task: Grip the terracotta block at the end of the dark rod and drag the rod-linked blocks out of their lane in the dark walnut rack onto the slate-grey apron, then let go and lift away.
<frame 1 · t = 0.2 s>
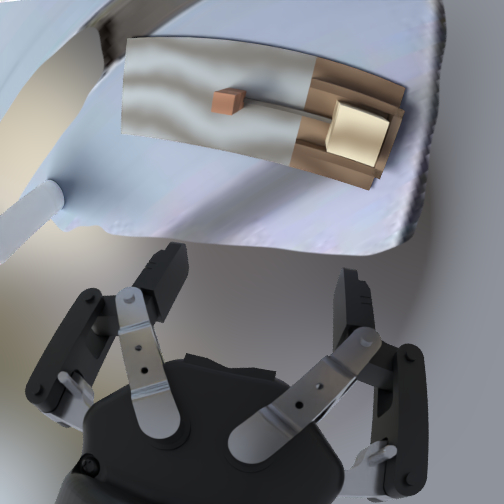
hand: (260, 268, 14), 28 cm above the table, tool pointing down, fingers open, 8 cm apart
rod-linked blocks: (352, 127, 33), point 1 cm above the table, touching lane rack
bottle: (54, 194, 51), on the table
lane rack: (303, 111, 34), on the table
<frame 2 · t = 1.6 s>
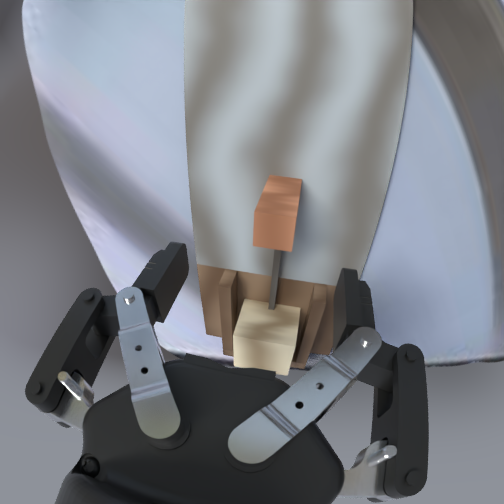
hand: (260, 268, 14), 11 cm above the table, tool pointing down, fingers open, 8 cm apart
rod-linked blocks: (270, 320, 32), point 1 cm above the table, touching lane rack
lane rack: (276, 271, 28), on the table
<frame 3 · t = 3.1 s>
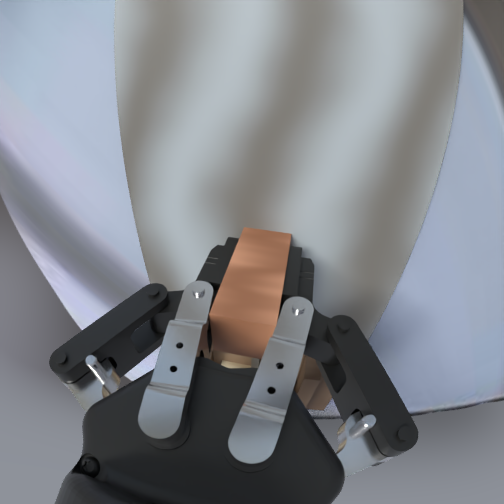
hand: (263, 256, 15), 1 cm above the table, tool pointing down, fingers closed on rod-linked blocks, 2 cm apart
rod-linked blocks: (254, 381, 25), point 1 cm above the table, touching gripper, lane rack
lane rack: (259, 334, 22), on the table
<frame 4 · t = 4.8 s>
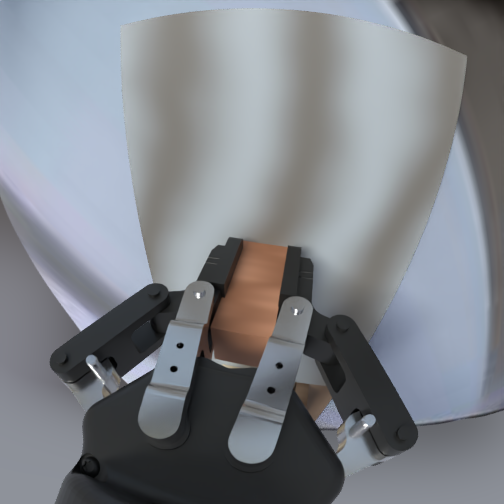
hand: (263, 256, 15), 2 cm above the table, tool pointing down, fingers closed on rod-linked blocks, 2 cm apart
rod-linked blocks: (253, 384, 26), point 1 cm above the table, touching gripper
lane rack: (257, 368, 25), on the table
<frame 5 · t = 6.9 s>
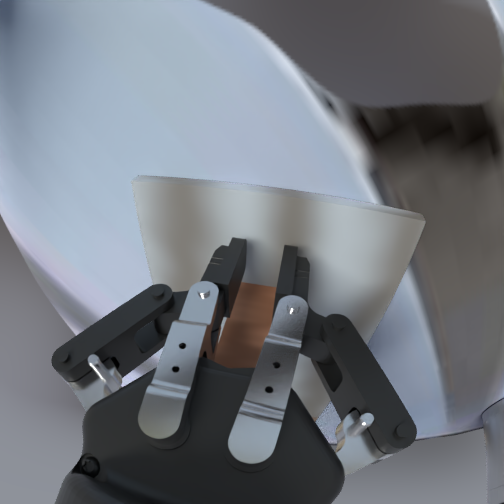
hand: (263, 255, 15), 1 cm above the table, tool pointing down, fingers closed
rod-linked blocks: (252, 396, 28), point 1 cm above the table, touching lane rack
lane rack: (253, 402, 31), on the table
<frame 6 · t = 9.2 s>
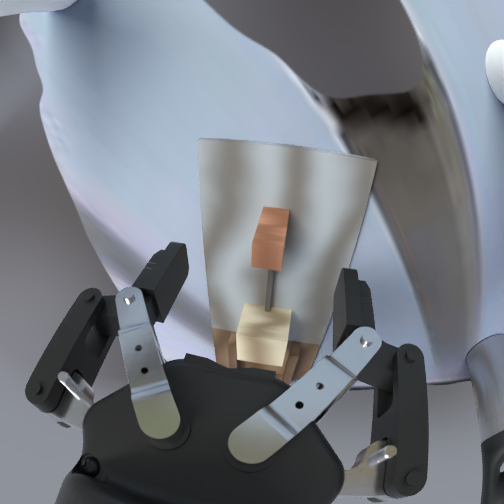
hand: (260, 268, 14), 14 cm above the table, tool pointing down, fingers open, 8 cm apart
rod-linked blocks: (266, 320, 38), point 1 cm above the table, touching lane rack
lane rack: (266, 332, 41), on the table
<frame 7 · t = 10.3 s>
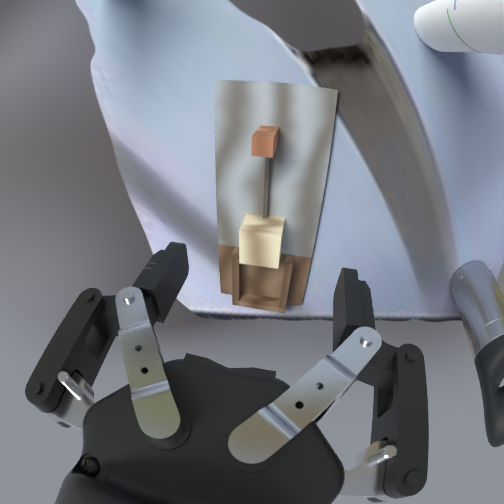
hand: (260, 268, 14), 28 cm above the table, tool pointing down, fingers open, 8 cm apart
rod-linked blocks: (264, 231, 46), point 1 cm above the table, touching lane rack
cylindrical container: (436, 28, 22), on the table
lane rack: (265, 247, 49), on the table
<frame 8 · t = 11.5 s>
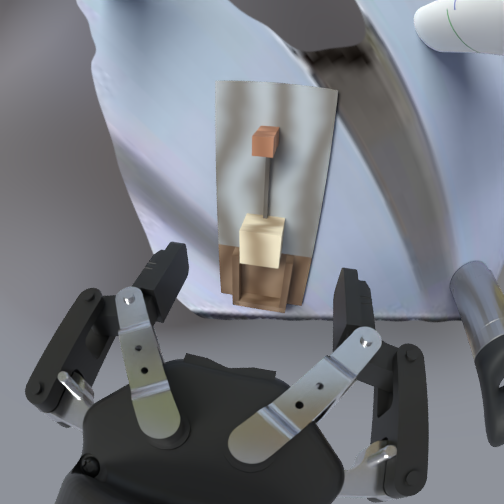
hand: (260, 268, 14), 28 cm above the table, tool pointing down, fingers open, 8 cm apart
rod-linked blocks: (264, 231, 46), point 1 cm above the table, touching lane rack
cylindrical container: (436, 28, 22), on the table
lane rack: (265, 247, 49), on the table
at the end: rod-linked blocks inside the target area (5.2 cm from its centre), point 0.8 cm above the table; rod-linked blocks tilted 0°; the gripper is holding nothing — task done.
